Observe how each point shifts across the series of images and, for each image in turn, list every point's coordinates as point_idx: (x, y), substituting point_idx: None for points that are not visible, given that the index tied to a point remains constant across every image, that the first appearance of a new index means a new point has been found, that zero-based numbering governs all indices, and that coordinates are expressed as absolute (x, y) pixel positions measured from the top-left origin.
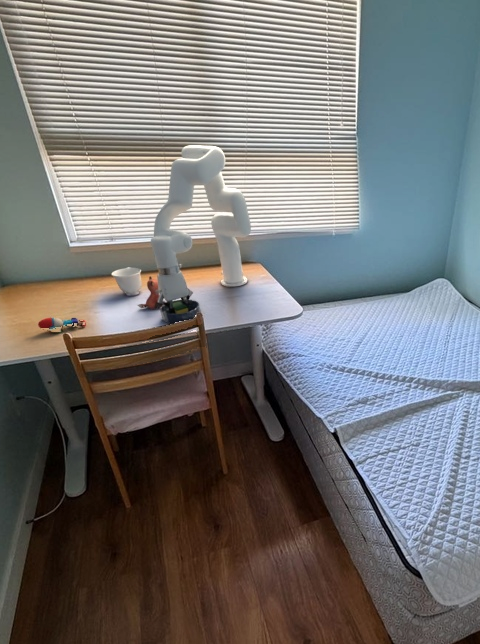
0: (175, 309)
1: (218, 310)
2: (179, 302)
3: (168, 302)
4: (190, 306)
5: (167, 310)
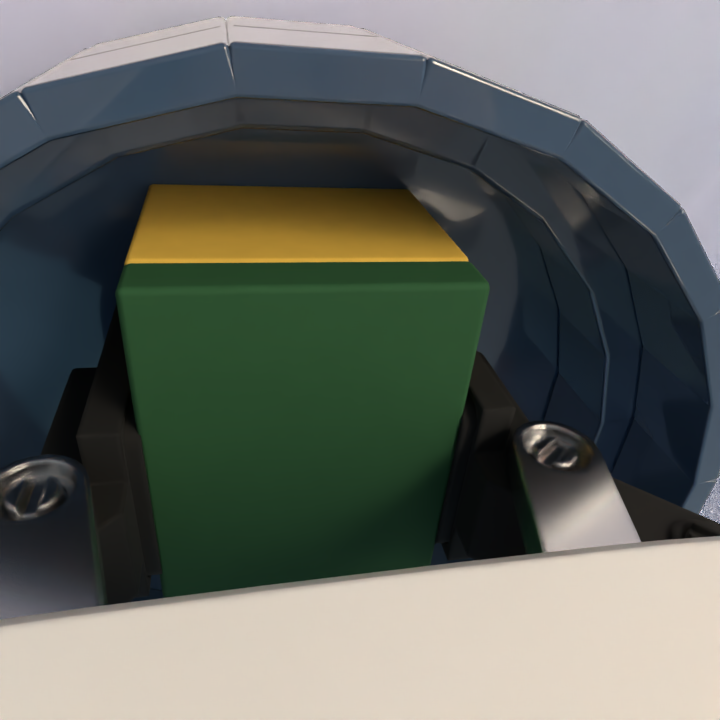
0: (165, 593)
1: (715, 494)
2: (446, 370)
3: (43, 594)
4: (583, 320)
5: (65, 185)
